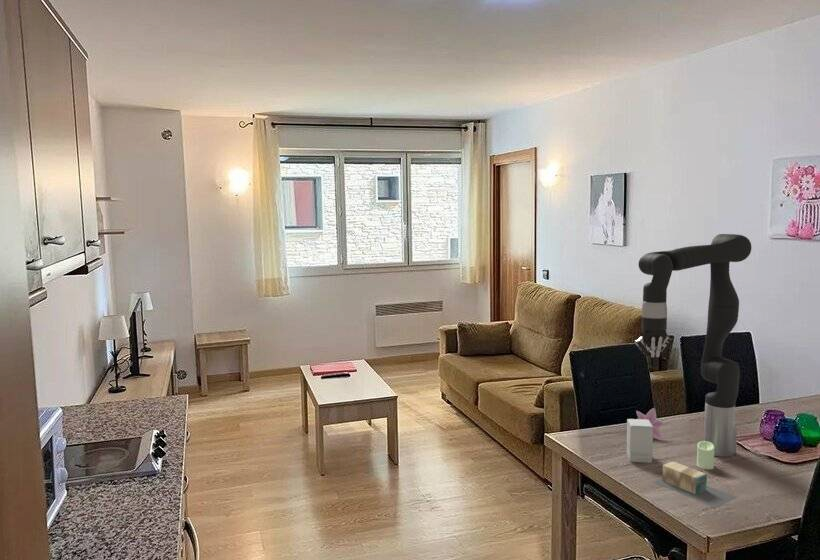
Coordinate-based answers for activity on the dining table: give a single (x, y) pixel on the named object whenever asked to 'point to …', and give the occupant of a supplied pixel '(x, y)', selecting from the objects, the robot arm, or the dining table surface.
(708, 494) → the mat
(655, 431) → the lily
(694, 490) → the block
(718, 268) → the robot arm
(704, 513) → the dining table surface
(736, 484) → the dining table surface
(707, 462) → the candle
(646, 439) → the supplement box
